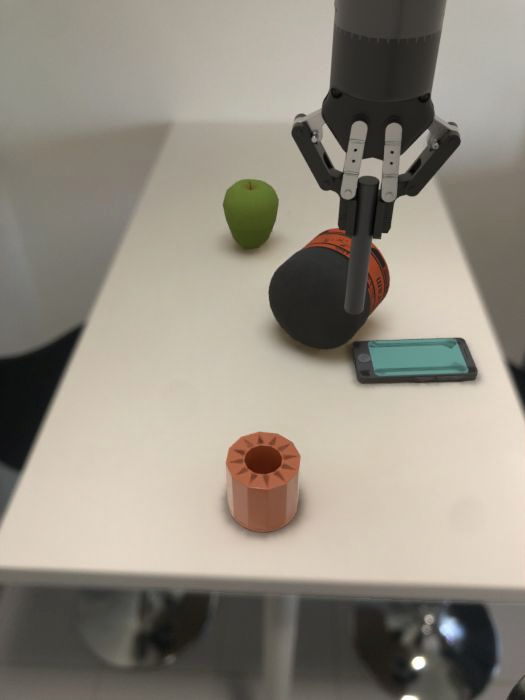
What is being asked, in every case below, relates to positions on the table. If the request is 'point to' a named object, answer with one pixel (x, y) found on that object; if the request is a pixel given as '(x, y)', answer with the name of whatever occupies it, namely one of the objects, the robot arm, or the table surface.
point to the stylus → (361, 243)
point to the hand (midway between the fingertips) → (363, 232)
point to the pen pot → (263, 481)
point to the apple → (250, 212)
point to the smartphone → (413, 360)
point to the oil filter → (324, 291)
